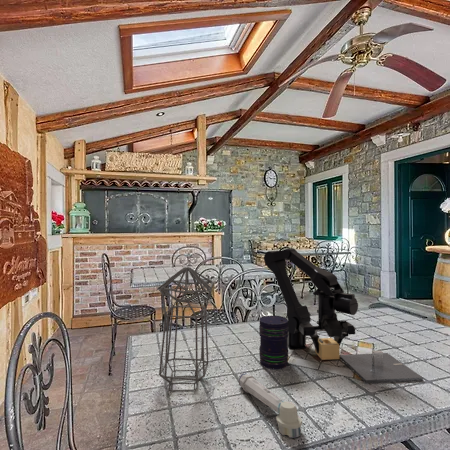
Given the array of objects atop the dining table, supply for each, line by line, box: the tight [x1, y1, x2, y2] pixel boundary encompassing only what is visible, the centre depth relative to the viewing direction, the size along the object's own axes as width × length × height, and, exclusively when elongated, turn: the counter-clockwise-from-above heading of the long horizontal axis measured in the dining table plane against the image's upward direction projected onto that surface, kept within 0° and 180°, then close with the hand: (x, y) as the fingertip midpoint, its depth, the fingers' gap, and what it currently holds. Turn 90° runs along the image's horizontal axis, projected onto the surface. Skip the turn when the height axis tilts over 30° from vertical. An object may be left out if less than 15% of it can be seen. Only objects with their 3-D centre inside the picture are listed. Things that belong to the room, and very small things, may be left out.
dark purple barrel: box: [258, 315, 289, 371], centre depth 106 cm, size 10×10×15 cm
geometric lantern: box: [156, 266, 214, 392], centre depth 93 cm, size 16×16×35 cm
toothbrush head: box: [238, 373, 303, 438], centre depth 80 cm, size 5×7×25 cm
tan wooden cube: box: [314, 337, 341, 361], centre depth 111 cm, size 6×6×6 cm
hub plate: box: [339, 350, 424, 384], centre depth 102 cm, size 18×18×6 cm
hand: (326, 352), depth 111 cm, fingers closed on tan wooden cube, 6 cm apart
